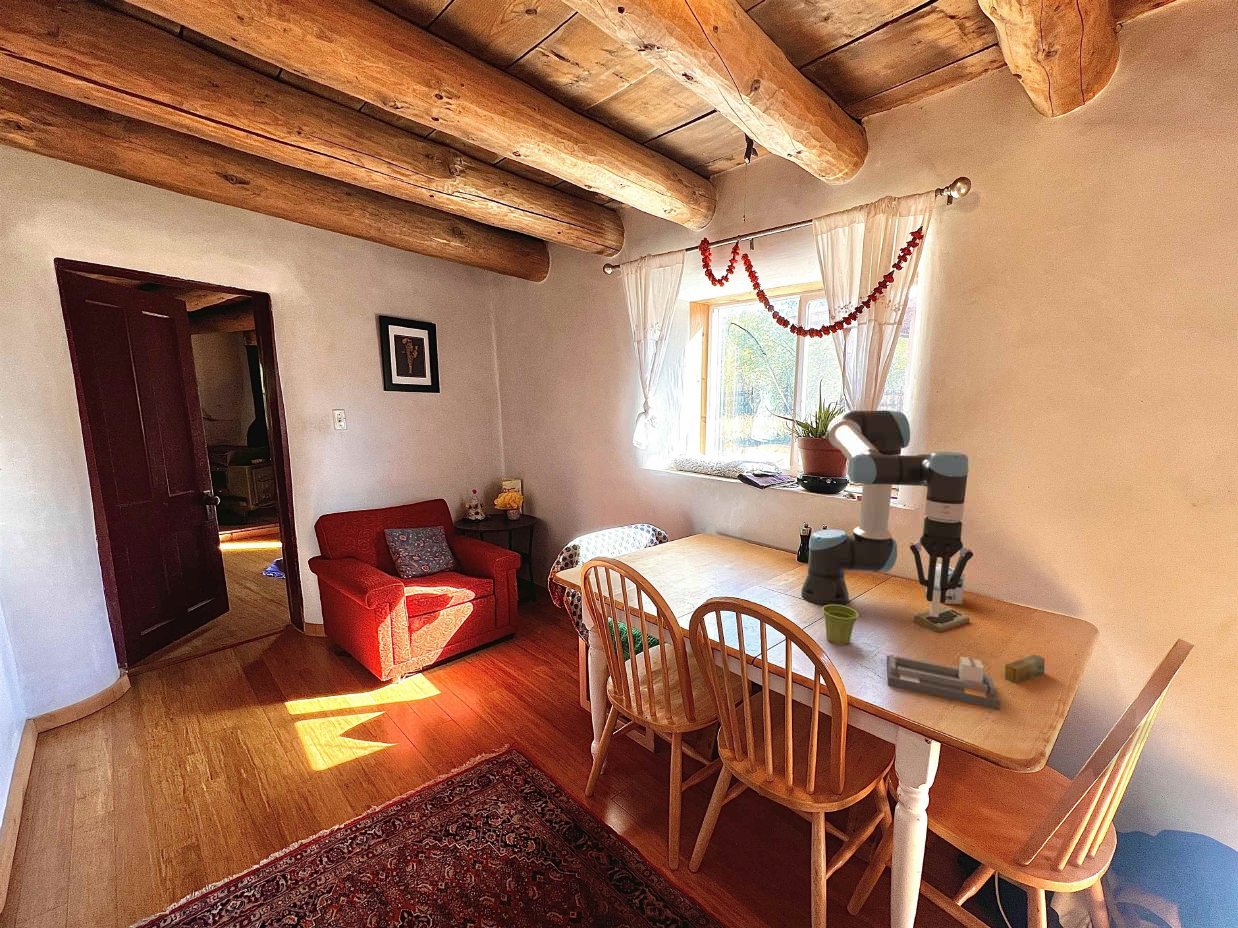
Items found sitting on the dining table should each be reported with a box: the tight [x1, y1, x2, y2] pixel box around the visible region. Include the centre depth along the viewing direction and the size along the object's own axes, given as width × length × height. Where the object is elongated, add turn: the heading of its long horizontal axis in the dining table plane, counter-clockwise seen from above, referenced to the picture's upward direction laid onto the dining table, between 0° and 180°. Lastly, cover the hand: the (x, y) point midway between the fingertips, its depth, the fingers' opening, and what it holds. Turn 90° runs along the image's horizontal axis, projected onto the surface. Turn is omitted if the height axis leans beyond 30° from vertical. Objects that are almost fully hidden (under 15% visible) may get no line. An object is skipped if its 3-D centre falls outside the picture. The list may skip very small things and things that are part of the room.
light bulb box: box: [925, 563, 966, 605], centre depth 177 cm, size 11×7×11 cm, turn 179°
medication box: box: [1004, 654, 1046, 685], centre depth 128 cm, size 12×3×4 cm, turn 114°
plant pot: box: [822, 605, 859, 646], centre depth 146 cm, size 9×9×9 cm
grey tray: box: [885, 654, 1001, 711], centre depth 124 cm, size 22×12×4 cm, turn 64°
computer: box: [913, 605, 971, 633], centre depth 158 cm, size 16×8×3 cm, turn 118°
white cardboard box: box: [958, 656, 985, 684], centre depth 121 cm, size 4×4×5 cm
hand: (934, 614), depth 123 cm, fingers closed
